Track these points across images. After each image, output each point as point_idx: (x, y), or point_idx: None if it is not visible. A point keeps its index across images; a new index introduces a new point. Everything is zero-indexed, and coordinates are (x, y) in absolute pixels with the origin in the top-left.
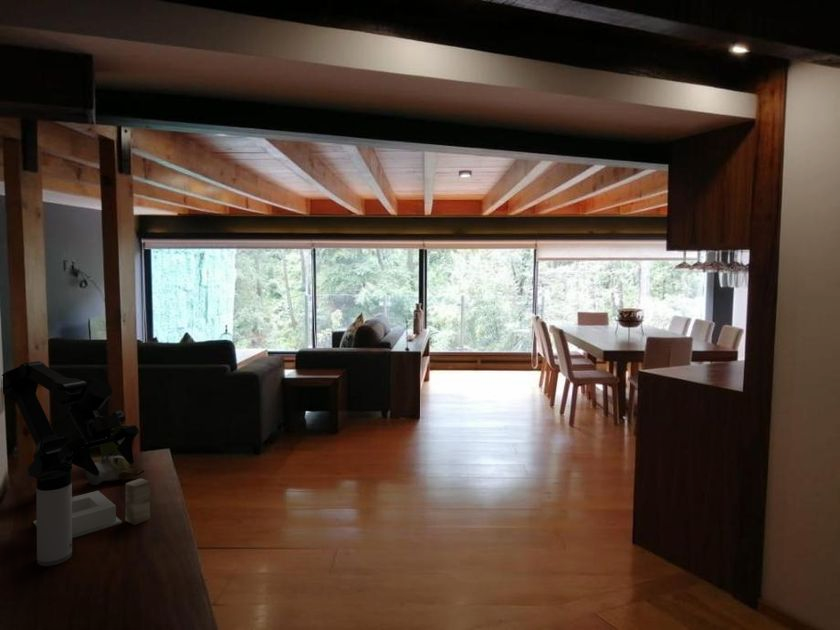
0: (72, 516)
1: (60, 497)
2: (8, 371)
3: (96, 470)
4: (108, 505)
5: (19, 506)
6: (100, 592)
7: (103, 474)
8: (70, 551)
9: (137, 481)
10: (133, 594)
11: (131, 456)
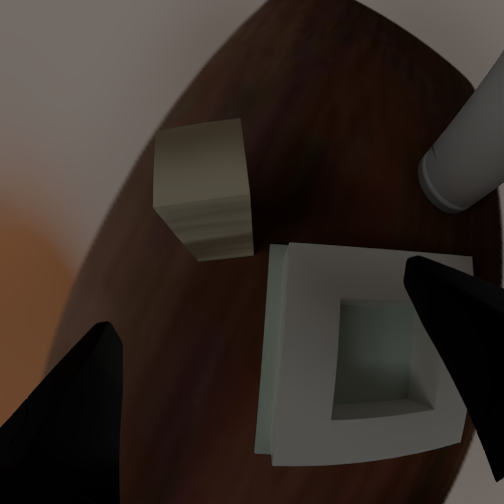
0: None
1: None
2: None
3: (436, 263)
4: (309, 271)
5: None
6: (383, 46)
7: None
8: (426, 153)
9: (191, 173)
10: (346, 20)
11: (76, 354)
